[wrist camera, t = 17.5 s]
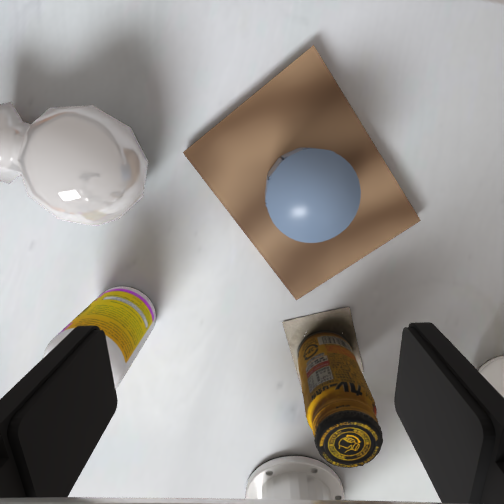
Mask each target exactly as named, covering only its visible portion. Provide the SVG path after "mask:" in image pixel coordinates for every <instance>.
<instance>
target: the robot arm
mask: <svg viewBox="0 0 504 504" xmlns="http://www.w3.org/2000/svg"><path fill="white" fill-rule="evenodd" d="M394 402H395V408H396V411H397V414H398V416H399V418H400V420H401V422H402V424H403V426H404V428H405V430H406V432H407V434H408V436H409V438H410V440H411V442H412V444H413V446H414V448H415V450H416V452H417V454H418V456H419V458H420V460H421V462H422V464H423V466H424V468H425V470H426V472H427V474H428V476H429V478H430V480H431V482H432V484H433V486H434V488H435V490H436V492H437V494H438V496H439V498H440V500H441V502H442V503H430V502H399V501H346V500H344V491H343V487H342V483H341V481H340V479H339V477H338V475H337V474H336V473H335V472H334V471H333V470H332V469H331V468H330V467H328V466H327V465H326V464H324V463H322V462H320V461H318V460H315V459H312V458H309V457H303V456H285V457H279V458H276V459H273V460H270V461H268V462H266V463H264V464H262V465H261V466H260V467H258V468H257V469H256V470H255V471H254V472H253V473H252V474H251V476H250V478H249V479H248V482H247V485H246V494H245V499H216V498H96V497H68V495H69V493H70V491H71V490H72V488H73V486H74V484H75V482H76V481H77V479H78V477H79V475H80V473H81V472H82V470H83V468H84V466H85V465H86V463H87V461H88V459H89V457H90V456H91V454H92V452H93V450H94V449H95V447H96V445H97V443H98V441H99V440H100V438H101V436H102V434H103V432H104V431H105V429H106V427H107V425H108V424H109V422H110V420H111V418H112V416H113V415H114V413H115V411H116V408H117V395H116V390H115V384H114V379H113V373H112V368H111V363H110V357H109V352H108V346H107V341H106V335H105V332H104V331H103V330H100V328H99V327H98V326H77V327H75V328H74V329H73V330H72V331H71V332H70V333H69V334H68V335H67V336H66V337H65V338H64V339H63V340H62V341H61V342H60V343H59V344H58V345H57V346H56V347H55V348H53V349H52V350H51V351H50V352H49V353H48V354H47V355H46V356H45V357H44V358H43V359H42V360H41V361H40V362H39V363H38V364H37V365H36V366H35V367H34V368H33V369H32V370H31V371H29V372H28V373H27V374H26V375H25V376H24V377H23V378H22V379H21V380H20V381H19V382H18V383H17V384H16V385H15V386H14V387H13V388H12V389H11V390H10V391H9V392H8V393H7V394H6V395H4V396H3V397H2V398H1V399H0V504H504V398H503V396H502V395H501V394H500V393H499V392H498V391H497V390H496V389H495V388H494V387H493V386H492V385H491V384H490V383H489V382H488V381H487V380H486V379H485V378H484V377H483V376H482V375H481V374H480V372H479V371H478V370H477V369H476V368H475V367H474V366H473V365H472V364H471V363H470V362H469V361H468V360H467V359H466V358H465V357H464V356H463V355H462V354H461V353H460V352H459V351H458V349H457V348H456V347H455V346H454V345H453V344H452V343H451V342H450V341H449V340H448V339H447V338H446V337H445V336H444V335H443V334H442V333H441V332H440V331H439V330H438V329H437V328H436V326H435V325H434V324H432V323H410V324H409V327H406V328H404V329H403V333H402V341H401V350H400V358H399V366H398V374H397V382H396V391H395V400H394Z"/></svg>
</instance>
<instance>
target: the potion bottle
mask: <svg viewBox="0 0 504 504" xmlns="http://www.w3.org/2000/svg"><path fill="white" fill-rule="evenodd" d="M147 168H148V160H147V158H146V156H145V154H144V152H143V150H142V149H141V147H140V145H139V143H138V141H137V139H136V137H135V135H134V133H133V131H132V129H131V128H130V127H129V126H128V125H126V124H124V123H122V122H121V121H119V120H117V119H116V118H114V117H112V116H111V115H109V114H107V113H105V112H104V111H102V110H100V109H99V108H97V107H95V106H93V105H86V106H68V107H50V108H49V109H48V110H47V111H45V112H44V113H43V114H42V115H41V116H40V117H39V118H38V119H36V120H35V121H34V122H33V123H32V124H29V123H25V122H23V121H22V119H21V118H20V116H19V114H18V113H17V111H16V109H15V108H14V106H13V104H12V103H11V102H8V103H3V104H0V181H1V182H5V183H8V184H10V183H11V182H12V181H13V180H15V179H16V178H17V177H18V176H20V175H22V178H23V181H24V185H25V188H26V192H27V195H28V197H30V198H31V199H32V200H34V201H35V202H36V203H38V204H39V205H40V206H42V207H43V208H44V209H46V210H47V211H48V212H50V213H51V214H52V215H54V216H55V217H56V218H58V219H59V220H63V221H68V222H73V223H78V224H84V225H93V226H99V225H102V224H105V223H108V222H111V221H115V220H118V219H120V218H121V217H122V216H123V215H124V214H125V213H126V212H127V211H128V210H129V209H130V208H131V207H132V206H133V205H135V204H136V203H137V202H138V201H139V200H140V199H141V198H142V197H143V196H144V189H145V182H146V175H147Z"/></svg>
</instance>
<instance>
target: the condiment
mask: <svg viewBox="0 0 504 504" xmlns="http://www.w3.org/2000/svg"><path fill="white" fill-rule="evenodd" d="M282 323H283V326H284V330H285V333H286V337H287V340H288V343H289V347H290V350H291V354H292V357H293V360H294V364H295V367H296V371H297V374H298V377H299V381H300V385H301V386H302V393H303V397H304V404H305V411H306V417H307V420H308V423H309V426H310V427H311V429H312V430H313V434H314V437H315V440H314V441H315V444H316V447H317V449H318V451H319V453H320V455H321V456H322V457H323V458H324V459H325V460H327V462H329V463H330V464H333V465H336V466H340V467H348V468H351V467H357V466H363V465H364V464H365V463H367V462H369V461H371V460H372V459H373V458H374V457H375V456H376V455H377V454H378V453H379V451H380V449H381V446H382V443H383V439H382V431H381V428H380V426H379V425H378V421H377V418H376V406H375V402H374V399H373V397H372V395H371V393H370V390H369V388H368V386H367V383H366V381H365V379H364V376H363V374H362V372H364V371H363V366H362V362H361V357H360V353H359V348H358V344H357V339H356V334H355V330H354V326H353V321H352V316H351V312H350V307H346V308H340V309H336V310H331V311H326V312H321V313H317V314H313V315H308V316H305V317H301V318H296V319H292V320H289V321H284V322H282ZM306 331H307V333H306V334H305V332H306ZM342 332H343V334H342ZM304 335H305V337H304Z"/></svg>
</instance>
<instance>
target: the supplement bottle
mask: <svg viewBox="0 0 504 504" xmlns="http://www.w3.org/2000/svg"><path fill="white" fill-rule="evenodd" d="M155 321H156V313H155V309H154V306H153V304H152V302H151V301H150V300H149V298H148V297H147V296H146V295H144V294H143V293H142V292H140V291H138V290H136V289H134V288H130V287H124V286H120V287H114V288H111V289H108V290H107V291H105V292H104V293H102V294H101V295H100V296H99V297H98V298H97V299H96V300H94V301H93V302H92V303H91V304H90V305H89V306H88V307H87V308H86V309H85V310H84V311H83V312H82V313H80V314H79V315H78V316H77V317H76V318H75V319H74V320H73V321H72V322H71V323H70V324H69V325H67V326H66V327H65V328H64V329H63V330H62V331H61V332H60V333H59V334H58V335H56V336H55V337H54V338H53V339H52V340H51V341H50V343H49V344H48V346H47V347H46V349H45V352H44V355H43V358H44V357H45V356H46V355H47V354H48V353H49V352H50V351H51V350H52V349H53V348H55V347H56V346H57V345H58V344H59V343H60V342H61V341H62V340H63V339H64V338H65V337H66V336H67V335H68V334H69V333H70V332H71V331H72V330H73V329H74V328H75V327H77V326H98V327H99V328H100V330H103V331H104V332H105V335H106V341H107V346H108V352H109V357H110V363H111V368H112V373H113V379H114V384H115V389H116V388H117V387H118V385H119V384H120V382H121V381H122V379H123V378H124V376H125V374H126V373H127V371H128V369H129V368H130V366H131V364H132V363H133V361H134V359H135V358H136V356H137V355H138V353H139V351H140V350H141V348H142V346H143V345H144V343H145V341H146V340H147V338H148V337H149V335H150V333H151V331H152V330H153V328H154V325H155Z"/></svg>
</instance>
